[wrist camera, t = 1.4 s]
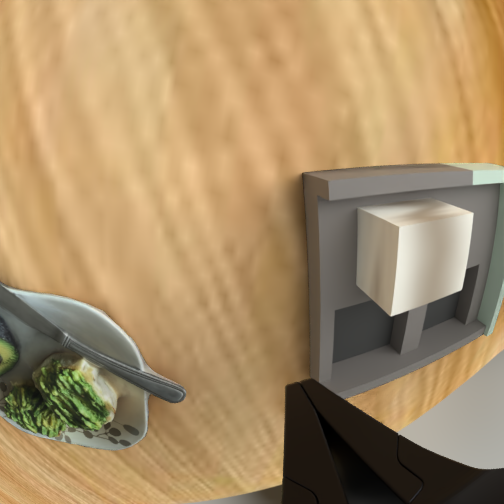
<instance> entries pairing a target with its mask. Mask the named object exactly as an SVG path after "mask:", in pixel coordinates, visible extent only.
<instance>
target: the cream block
mask: <svg viewBox="0 0 504 504" xmlns="http://www.w3.org/2000/svg"><path fill="white" fill-rule="evenodd" d="M357 213H358V237H357V277H356V285H357V286H358V287H359V288H360V289H361V290H362V291H364V292H365V293H366V294H367V295H368V296H369V297H370V298H371V299H372V300H373V301H374V302H375V303H377V304H378V305H379V306H380V307H381V308H382V309H383V310H384V311H385V312H386V313H387V314H388V315H389V316H394V315H397V314H400V313H403V312H406V311H408V310H411V309H414V308H417V307H419V306H422V305H425V304H427V303H430V302H433V301H435V300H438V299H440V298H443V297H446V296H448V295H451V294H453V293H455V292H458V291H460V290H462V287H463V282H464V277H465V272H466V266H467V261H468V254H469V248H470V241H471V233H472V224H473V214H474V213H472V212H470V211H467V210H464V209H461V208H459V207H456V206H453V205H450V204H447V203H445V202H442V201H439V200H436V199H433V198H424V199H416V200H408V201H401V202H393V203H386V204H378V205H371V206H364V207H357Z"/></svg>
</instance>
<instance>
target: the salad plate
mask: <svg viewBox="0 0 504 504" xmlns="http://www.w3.org/2000/svg"><path fill="white" fill-rule="evenodd" d="M5 384H6V385H5ZM150 394H153V395H154V396H157V397H159V398H161V399H163V400H165V401H168V402H170V403H178V402H181V401H183V400H184V398H185V397H186V390H185V389H184V387H182V386H181V385H179V384H178V383H175V382H174V381H172V380H170V379H167V378H165V377H163V376H162V375H159V374H158V373H156V372H154V371H153V370H152V369H151V368H150V367H149V366H148V365H147V364H146V362H145V360H144V358H143V357H142V355H141V353H140V351H139V349H138V347H137V345H136V343H135V342H134V341H133V339H132V338H131V337H130V336H128V335H127V334H126V332H125V331H124V330H123V329H121V328H120V327H119V326H118V325H117V324H116V323H115V322H114V321H113V320H112V319H111V318H110V317H109V316H108V315H107V314H106V313H105V312H104V311H102V310H100V309H98V308H96V307H94V306H91V305H89V304H87V303H84V302H80V301H77V300H74V299H72V298H68V297H64V296H59V295H55V294H47V293H38V292H33V291H26V290H20V289H17V288H13V287H10V286H8V285H5V284H4V283H2V282H0V416H1V417H2V418H4V419H5V420H6V421H7V422H9V423H11V424H12V425H14V426H15V427H16V428H18V429H20V430H22V431H24V432H26V433H28V434H31V435H34V436H38V437H42V438H47V439H51V440H56V441H61V442H66V443H70V444H77V445H81V446H84V447H91V448H97V449H104V450H121V449H125V448H128V447H130V446H132V445H134V444H136V443H138V442H139V441H140V440H141V439H143V438H144V437H145V436H146V434H147V431H148V424H147V422H148V414H149V411H148V399H149V395H150Z"/></svg>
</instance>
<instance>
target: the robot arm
mask: <svg viewBox="0 0 504 504" xmlns="http://www.w3.org/2000/svg"><path fill="white" fill-rule="evenodd" d="M281 504H504V468H501V469H478V468H473V467H470V466H467V465H464V464H462V463H459V462H456V461H454V460H451V459H449V458H446V457H444V456H441V455H439V454H436V453H434V452H432V451H429V450H427V449H425V448H423V447H421V446H419V445H417V444H415V443H414V442H412V441H410V440H408V439H407V438H405V437H403V436H401V435H399V436H398V433H396V432H395V431H393V430H391V429H390V428H388V427H387V426H385V425H383V424H382V423H380V422H379V421H377V420H375V419H374V418H372V417H371V416H369V415H367V414H366V413H364V412H363V411H361V410H360V409H358V408H357V407H355V406H354V405H352V404H350V403H349V402H347V401H346V400H344V399H343V398H341V397H340V396H338V395H337V394H335V393H334V392H332V391H331V390H329V389H328V388H326V387H325V386H324V385H322V384H321V383H319V382H318V381H316V380H315V379H313V378H309V379H305V380H302V381H300V382H295V383H291V384H287V385H286V386H285V426H284V460H283V481H282V496H281Z"/></svg>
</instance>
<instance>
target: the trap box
mask: <svg viewBox="0 0 504 504" xmlns="http://www.w3.org/2000/svg"><path fill="white" fill-rule="evenodd" d="M303 185H304V199H305V215H306V232H307V252H308V277H309V315H310V377H311V378H313V379H315V380H316V381H318V382H319V383H321V384H322V385H324V386H325V387H326V388H328V389H329V390H331V391H332V392H334V393H335V394H337V395H338V396H340V397H341V398H343V399H346V398H349V397H352V396H355V395H357V394H360V393H363V392H365V391H368V390H371V389H373V388H376V387H378V386H381V385H383V384H386V383H388V382H390V381H393V380H395V379H397V378H400V377H402V376H404V375H406V374H409V373H411V372H413V371H415V370H417V369H420V368H422V367H424V366H426V365H428V364H430V363H432V362H434V361H436V360H438V359H440V358H442V357H444V356H446V355H448V354H449V353H451V352H453V351H455V350H457V349H459V348H461V347H462V346H464V345H466V344H468V343H469V342H471V341H473V340H475V339H476V338H478V337H480V336H481V335H483V334H484V335H485V336H489V335H490V334H492V332H493V329H494V326H495V323H496V320H497V317H498V314H499V311H500V307H501V304H502V300H503V297H504V166H500V165H496V164H491V163H437V164H408V165H388V166H373V167H359V168H346V169H335V170H324V171H314V172H305V173H303ZM424 198H433V199H436V200H439V201H442V202H445V203H447V204H450V205H453V206H456V207H459V208H461V209H464V210H467V211H470V212H472V213H474V214H473V224H472V233H471V241H470V248H469V254H468V261H467V266H466V272H465V277H464V282H463V287H462V290H460V291H458V292H455V293H453V294H451V295H448V296H446V297H443V298H440V299H438V300H435V301H433V302H430V303H427V304H425V305H422V306H419V307H417V308H414V309H411V310H408V311H406V312H403V313H400V314H397V315H394V316H389V315H388V314H387V313H386V312H385V311H384V310H383V309H382V308H381V307H380V306H379V305H378V304H377V303H375V302H374V301H373V300H372V299H371V298H370V297H369V296H368V295H367V294H366V293H365V292H364V291H362V290H361V289H360V288H359V287H358V286H357V285H356V277H357V237H358V213H357V207H364V206H371V205H378V204H386V203H393V202H401V201H408V200H416V199H424Z"/></svg>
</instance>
